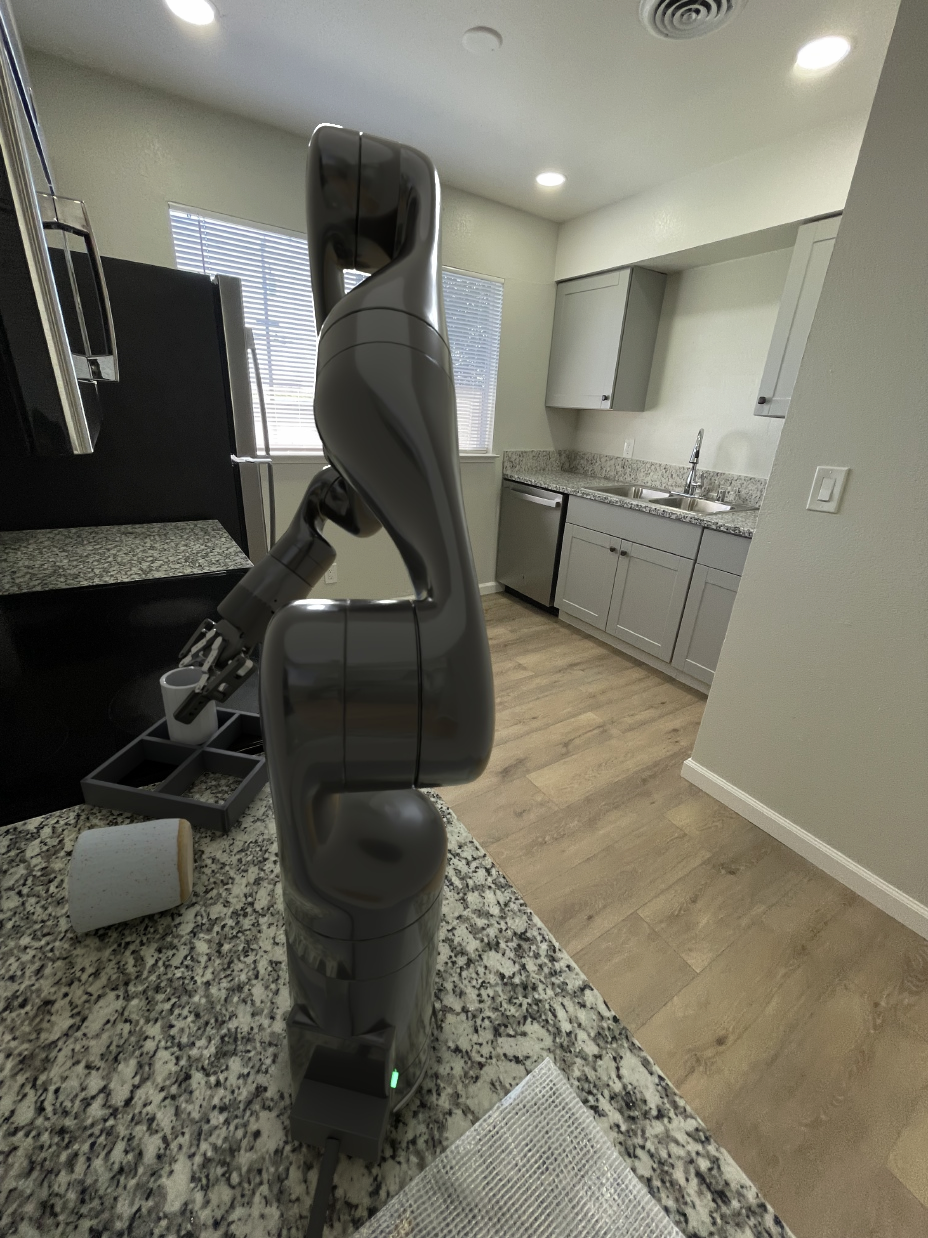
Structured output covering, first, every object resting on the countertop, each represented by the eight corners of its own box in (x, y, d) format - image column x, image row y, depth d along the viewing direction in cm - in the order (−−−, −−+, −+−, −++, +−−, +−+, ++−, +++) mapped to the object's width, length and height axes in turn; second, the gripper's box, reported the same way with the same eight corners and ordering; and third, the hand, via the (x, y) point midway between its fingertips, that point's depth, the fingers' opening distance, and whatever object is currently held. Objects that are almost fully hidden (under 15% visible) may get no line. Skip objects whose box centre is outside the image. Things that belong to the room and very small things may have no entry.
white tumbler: (200, 749, 61) (191, 691, 58) (159, 742, 61) (148, 684, 58) (227, 724, 66) (220, 670, 63) (188, 718, 66) (180, 663, 63)
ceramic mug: (195, 921, 43) (184, 852, 40) (77, 956, 40) (56, 884, 37) (198, 832, 52) (189, 770, 49) (101, 854, 48) (86, 789, 46)
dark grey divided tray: (227, 833, 52) (224, 810, 51) (85, 804, 54) (79, 781, 53) (300, 740, 67) (299, 721, 66) (187, 720, 69) (184, 701, 67)
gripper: (223, 566, 66) (131, 670, 63) (265, 600, 56) (159, 726, 53) (267, 597, 71) (184, 695, 68) (312, 634, 61) (218, 750, 59)
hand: (173, 708), depth 61 cm, fingers closed on white tumbler, 5 cm apart
